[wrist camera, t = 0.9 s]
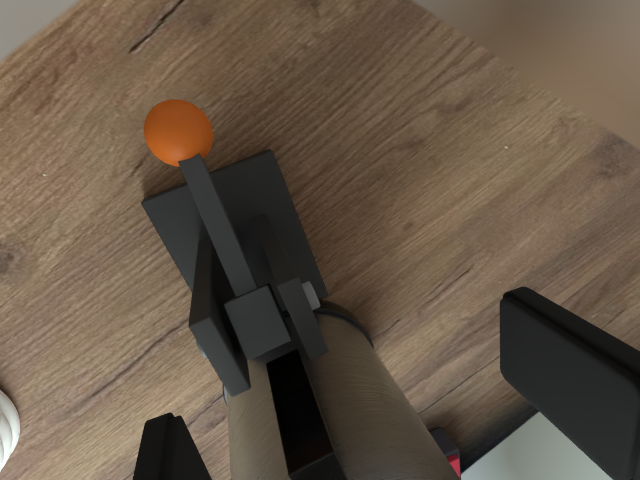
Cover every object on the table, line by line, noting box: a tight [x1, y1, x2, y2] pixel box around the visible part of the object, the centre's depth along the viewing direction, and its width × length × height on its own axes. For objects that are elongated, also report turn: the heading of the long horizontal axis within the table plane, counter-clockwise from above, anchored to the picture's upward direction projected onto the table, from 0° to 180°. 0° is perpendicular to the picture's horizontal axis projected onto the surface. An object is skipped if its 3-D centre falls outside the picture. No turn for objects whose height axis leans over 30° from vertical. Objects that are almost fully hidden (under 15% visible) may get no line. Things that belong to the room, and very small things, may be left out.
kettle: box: [223, 300, 461, 480], centre depth 23 cm, size 15×13×19 cm
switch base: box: [141, 149, 329, 397], centre depth 22 cm, size 12×9×12 cm
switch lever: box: [144, 100, 291, 360], centre depth 18 cm, size 13×3×3 cm, turn 17°
